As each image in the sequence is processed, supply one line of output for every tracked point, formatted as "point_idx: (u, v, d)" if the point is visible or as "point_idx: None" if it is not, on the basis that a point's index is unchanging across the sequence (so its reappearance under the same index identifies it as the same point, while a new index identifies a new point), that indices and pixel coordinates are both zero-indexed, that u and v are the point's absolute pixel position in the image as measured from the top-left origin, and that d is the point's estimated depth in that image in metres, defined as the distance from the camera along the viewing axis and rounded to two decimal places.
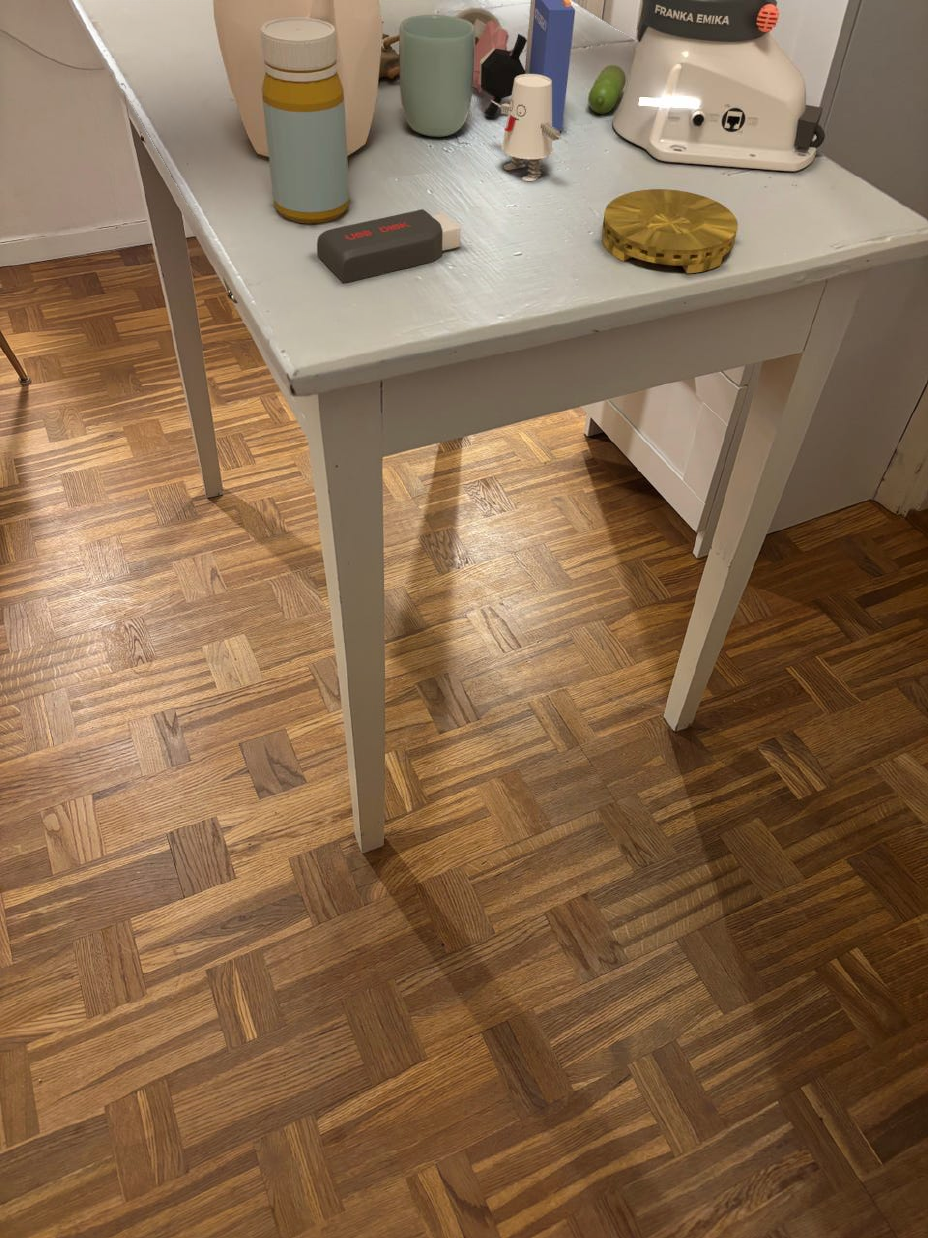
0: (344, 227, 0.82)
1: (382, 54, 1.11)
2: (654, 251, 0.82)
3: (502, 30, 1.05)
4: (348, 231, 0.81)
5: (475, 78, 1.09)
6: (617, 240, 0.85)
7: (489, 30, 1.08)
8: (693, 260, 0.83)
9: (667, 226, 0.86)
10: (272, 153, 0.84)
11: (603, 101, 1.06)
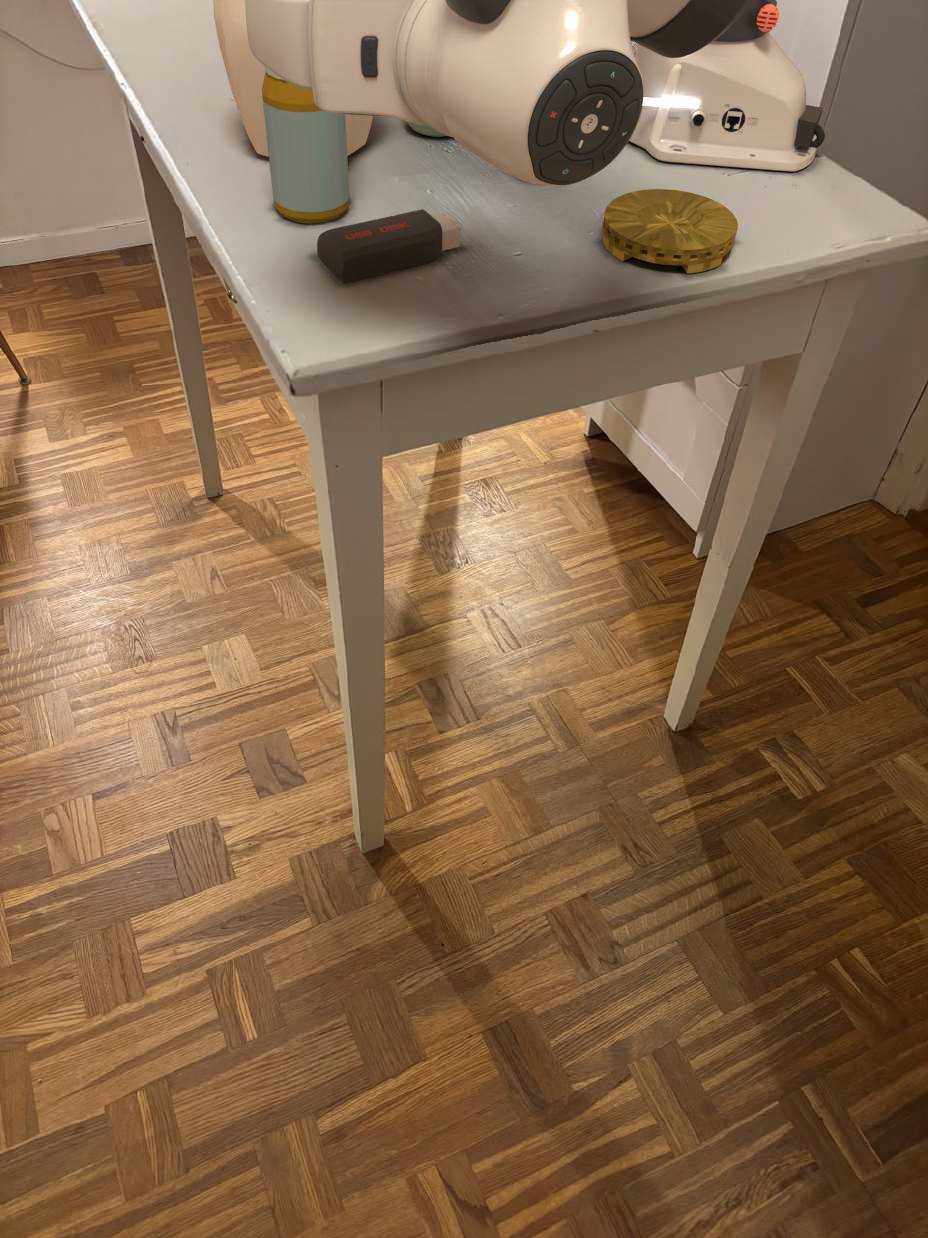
0: (344, 227, 0.82)
1: None
2: (654, 251, 0.82)
3: None
4: (348, 231, 0.81)
5: None
6: (617, 240, 0.85)
7: None
8: (693, 260, 0.83)
9: (667, 226, 0.86)
10: (272, 153, 0.84)
11: None
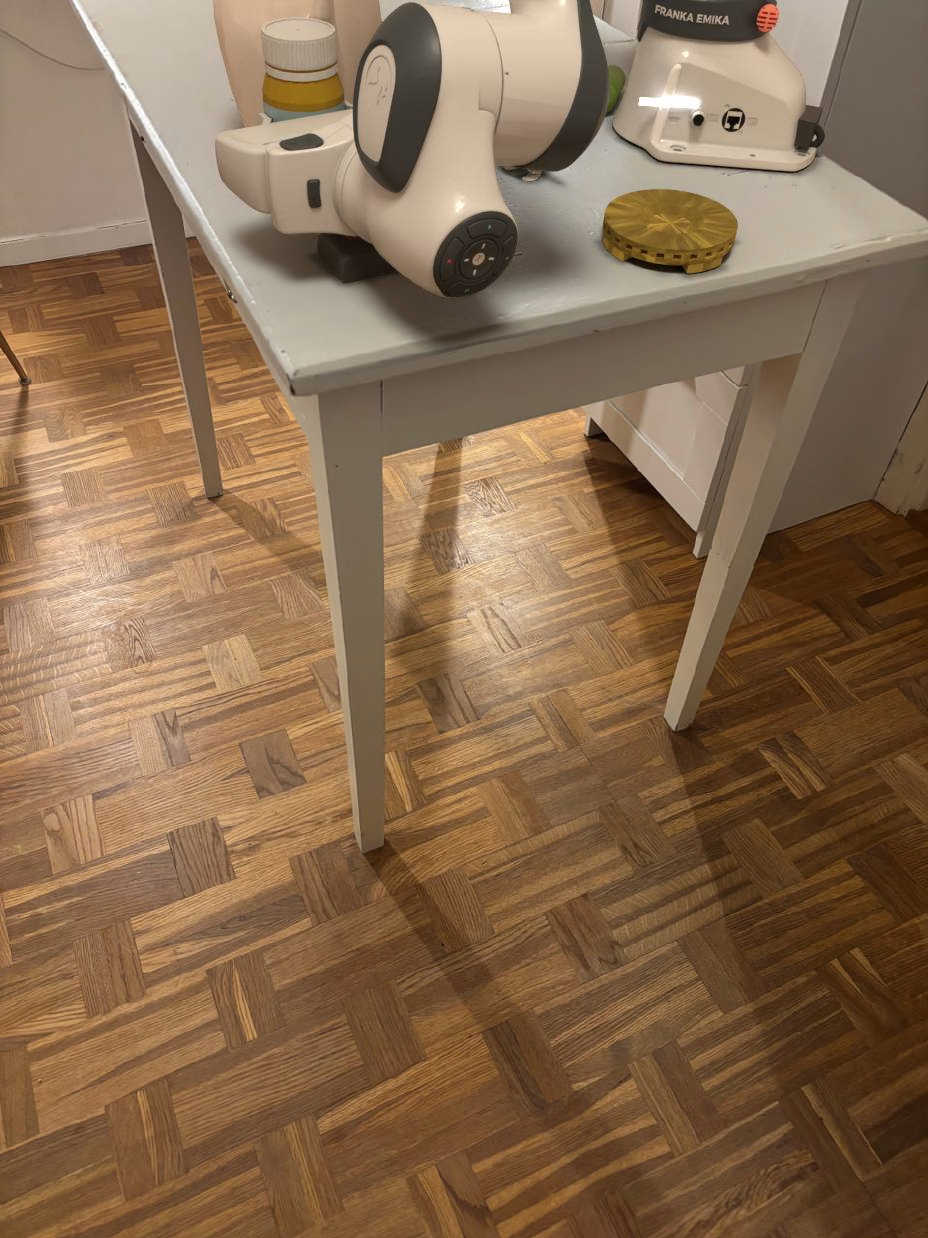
0: None
1: None
2: (654, 251, 0.82)
3: None
4: None
5: None
6: (617, 240, 0.85)
7: None
8: (693, 260, 0.83)
9: (667, 226, 0.86)
10: None
11: None
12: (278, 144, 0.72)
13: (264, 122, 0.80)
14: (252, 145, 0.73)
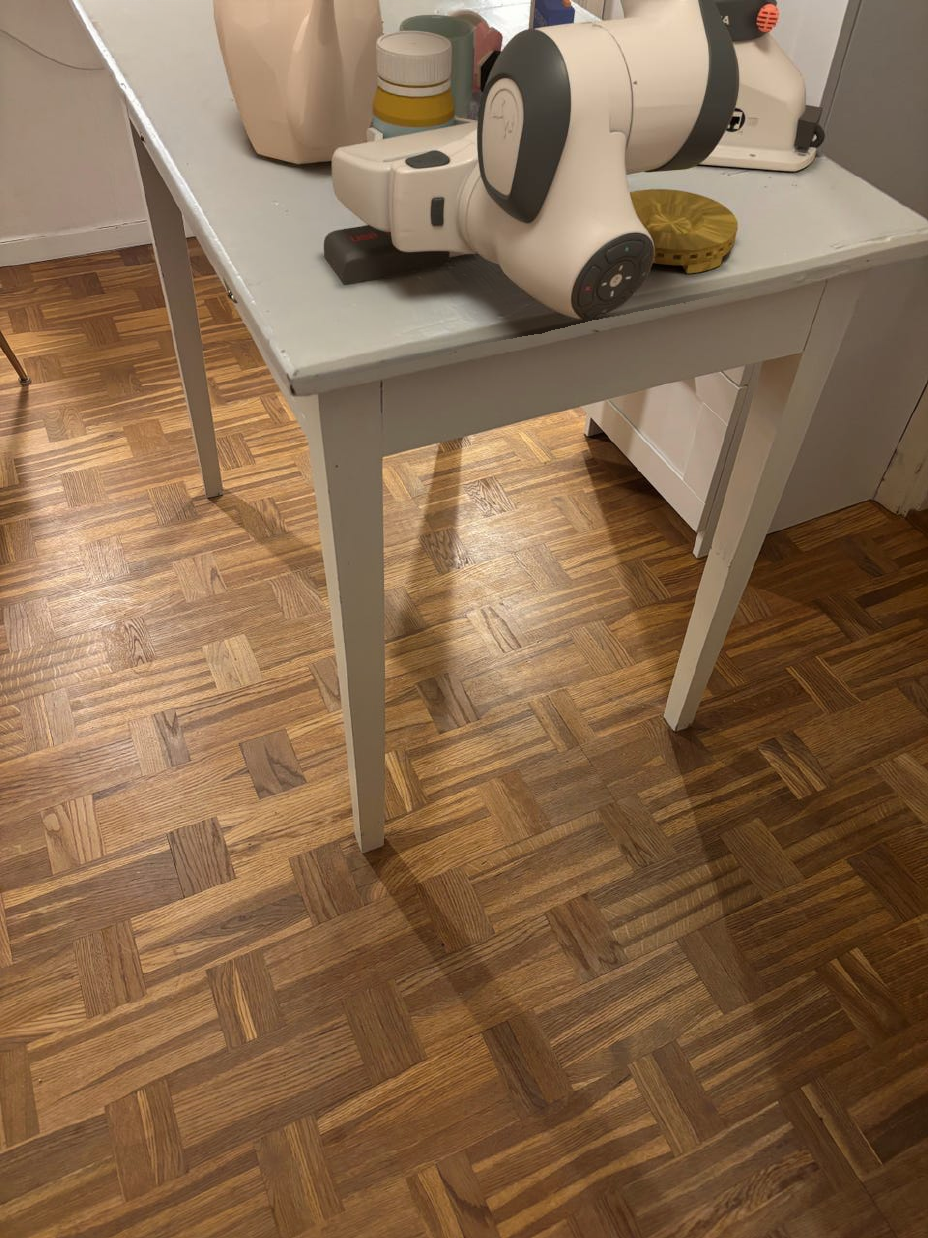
0: (351, 228, 0.81)
1: None
2: (654, 251, 0.82)
3: (496, 31, 1.05)
4: (354, 233, 0.81)
5: None
6: None
7: (481, 32, 1.08)
8: (693, 260, 0.83)
9: (667, 226, 0.86)
10: None
11: None
12: (404, 162, 0.70)
13: (376, 137, 0.79)
14: (375, 162, 0.72)
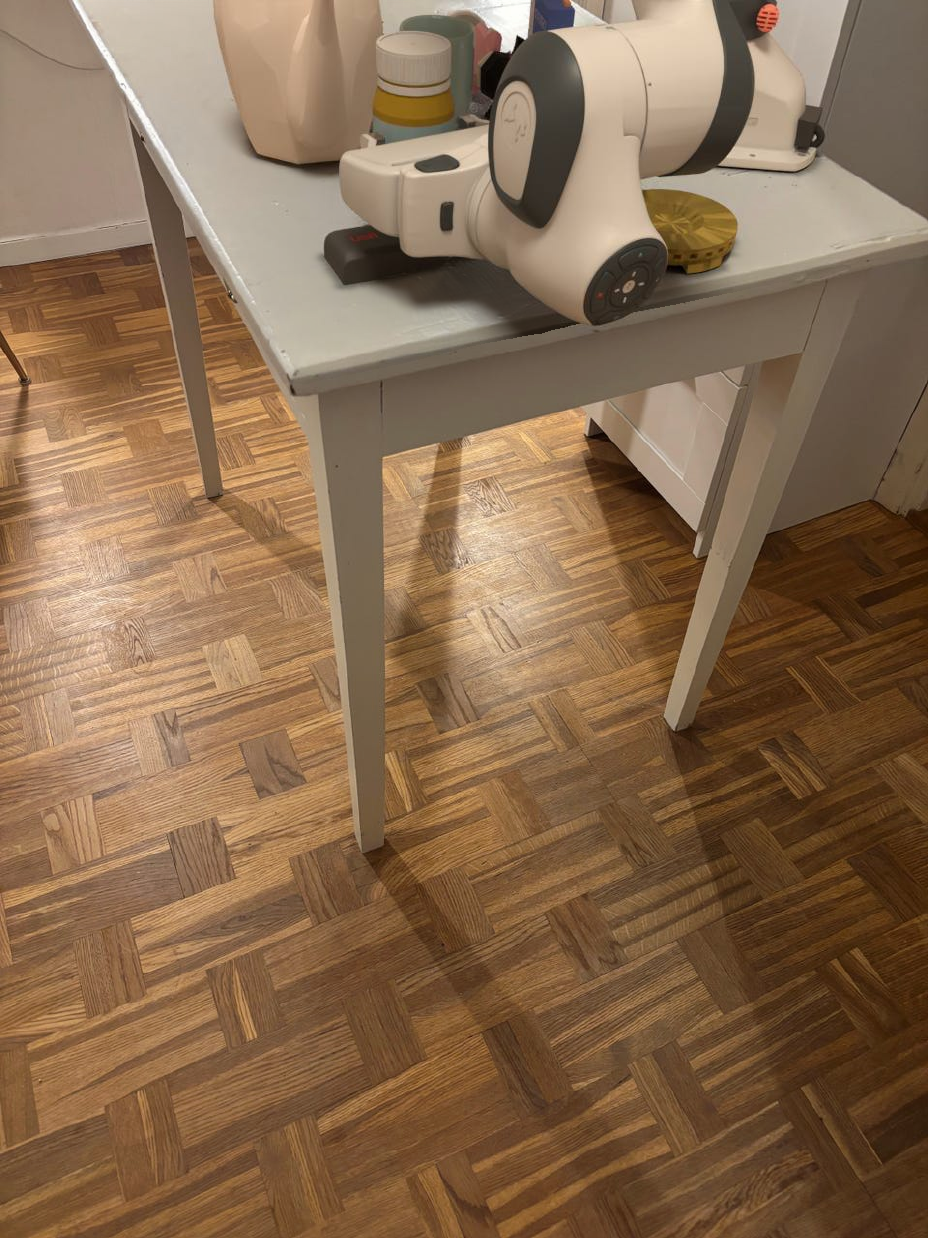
0: (351, 229, 0.81)
1: None
2: None
3: (496, 32, 1.05)
4: (354, 233, 0.81)
5: None
6: None
7: (480, 32, 1.07)
8: (693, 260, 0.83)
9: (667, 226, 0.86)
10: None
11: None
12: (413, 166, 0.69)
13: (370, 144, 0.77)
14: (383, 166, 0.71)
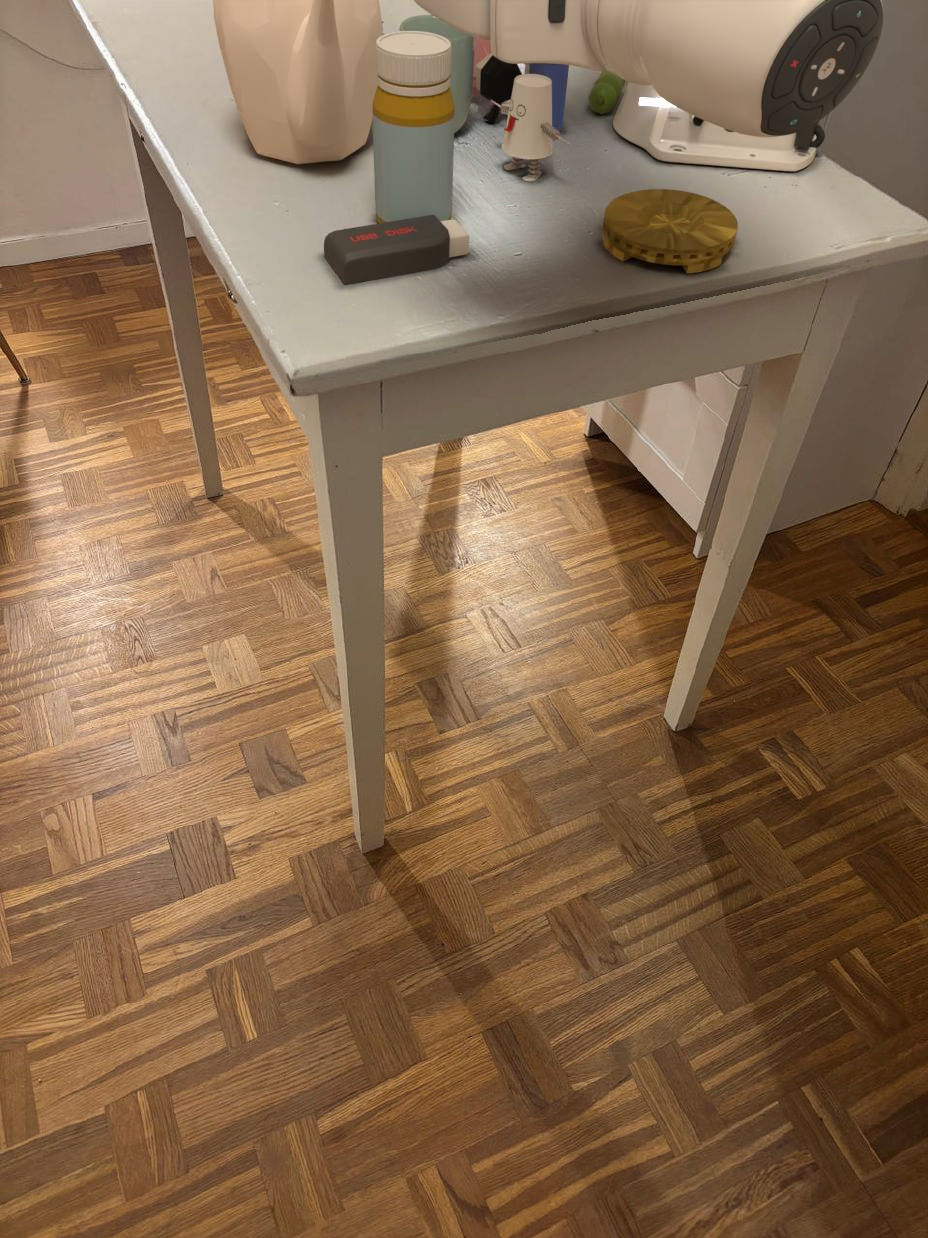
0: (351, 229, 0.81)
1: None
2: (654, 251, 0.82)
3: None
4: (354, 233, 0.81)
5: None
6: (617, 240, 0.85)
7: None
8: (693, 260, 0.83)
9: (667, 226, 0.86)
10: (379, 168, 0.82)
11: (603, 101, 1.06)
12: None
13: None
14: None
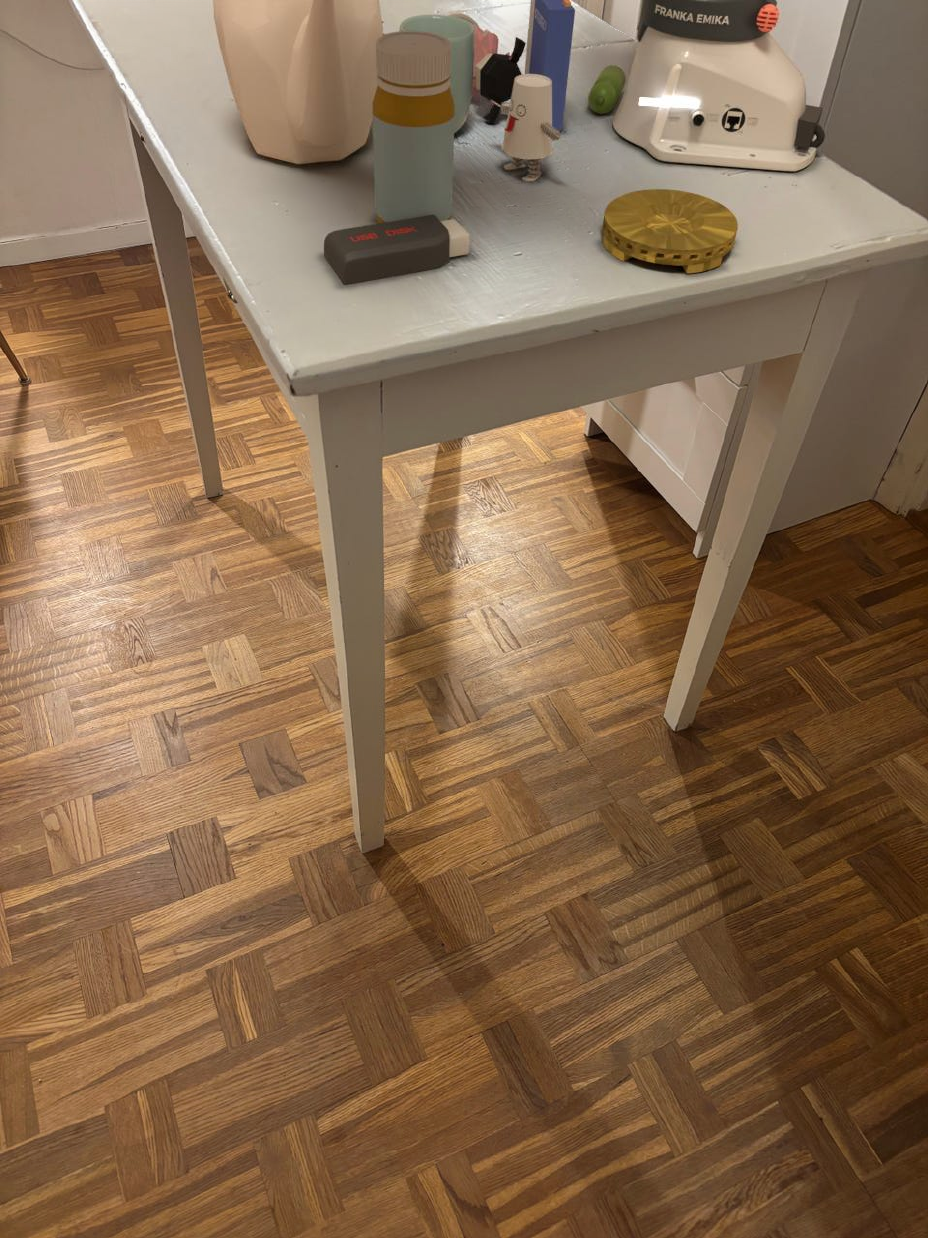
0: (351, 229, 0.81)
1: None
2: (654, 251, 0.82)
3: (492, 34, 1.04)
4: (354, 233, 0.81)
5: None
6: (617, 240, 0.85)
7: (475, 34, 1.07)
8: (693, 260, 0.83)
9: (667, 226, 0.86)
10: (379, 168, 0.82)
11: (603, 101, 1.06)
12: None
13: None
14: None
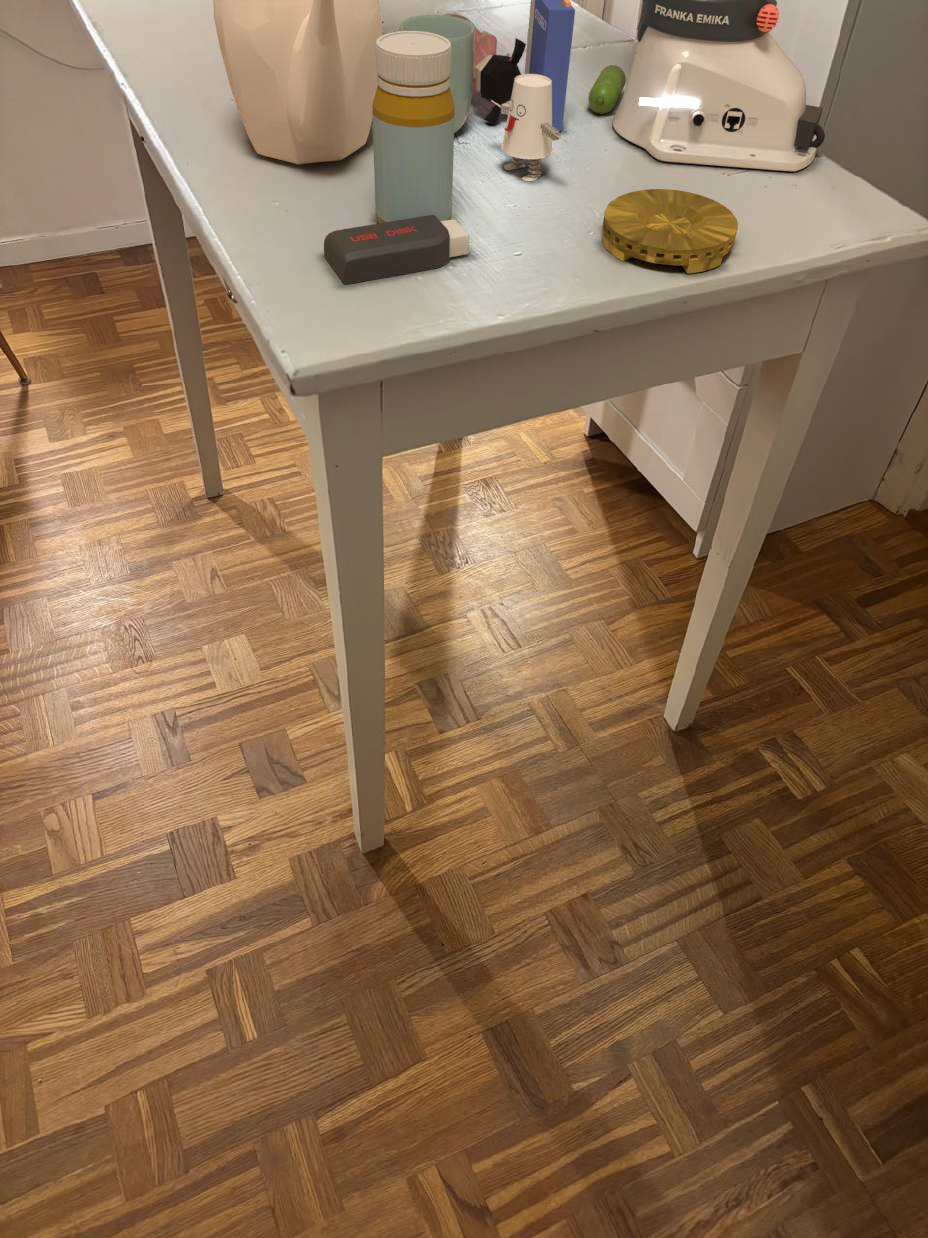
0: (351, 229, 0.81)
1: None
2: (654, 251, 0.82)
3: (491, 35, 1.04)
4: (354, 233, 0.81)
5: None
6: (617, 240, 0.85)
7: None
8: (693, 260, 0.83)
9: (667, 226, 0.86)
10: (379, 168, 0.82)
11: (603, 101, 1.06)
12: None
13: None
14: None
